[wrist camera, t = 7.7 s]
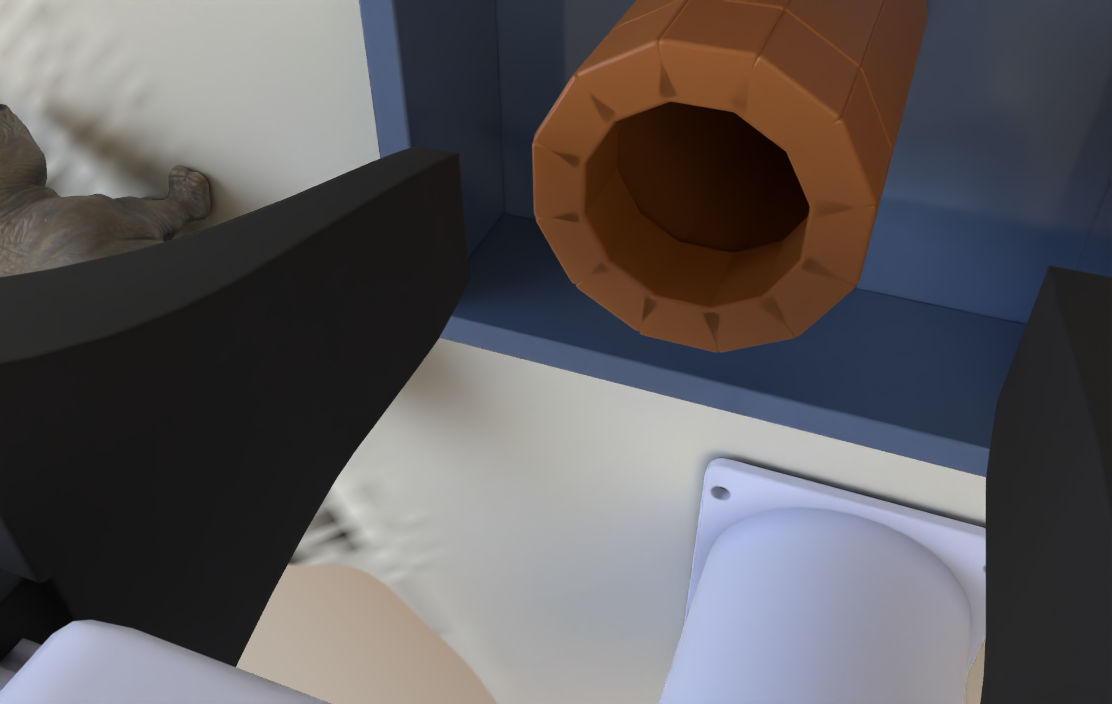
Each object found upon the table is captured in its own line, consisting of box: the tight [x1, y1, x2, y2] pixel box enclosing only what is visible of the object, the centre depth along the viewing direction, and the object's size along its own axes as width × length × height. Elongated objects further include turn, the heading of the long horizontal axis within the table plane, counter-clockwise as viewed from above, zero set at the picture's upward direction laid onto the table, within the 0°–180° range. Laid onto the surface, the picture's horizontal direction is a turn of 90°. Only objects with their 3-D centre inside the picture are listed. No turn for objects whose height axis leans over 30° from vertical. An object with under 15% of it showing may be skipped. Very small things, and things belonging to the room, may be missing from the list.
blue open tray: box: [359, 0, 1112, 477], centre depth 17 cm, size 12×13×5 cm
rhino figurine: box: [0, 104, 211, 277], centre depth 26 cm, size 4×14×6 cm, turn 57°
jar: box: [532, 0, 928, 352], centre depth 16 cm, size 5×5×7 cm
